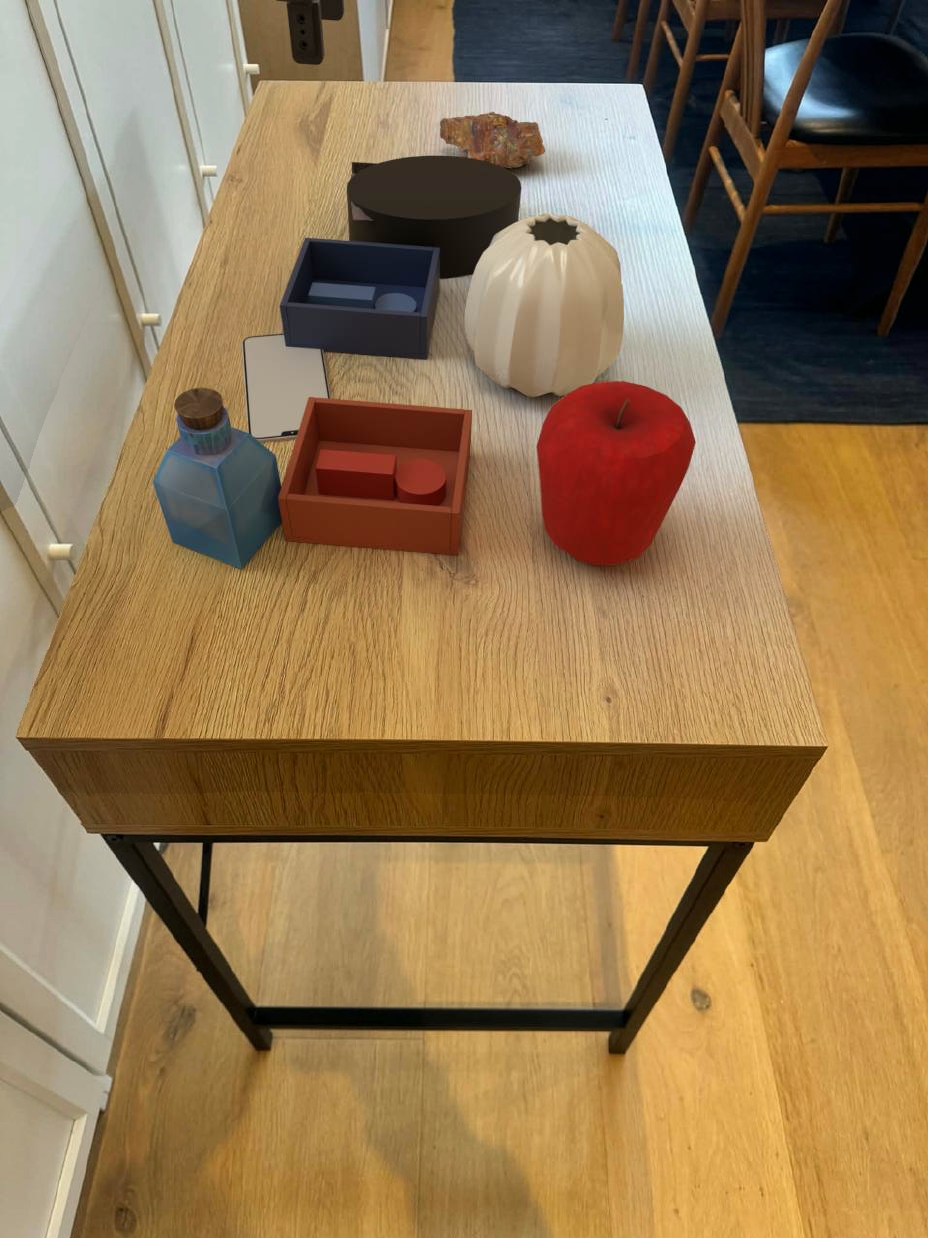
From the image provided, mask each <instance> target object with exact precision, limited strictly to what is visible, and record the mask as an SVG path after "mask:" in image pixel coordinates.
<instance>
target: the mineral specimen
mask: <svg viewBox="0 0 928 1238" xmlns="http://www.w3.org/2000/svg"><path fill="white" fill-rule="evenodd" d="M439 126H440V128H439V137H440V139H442V140H443V141H444V142H445V144H446V145H452V146H454V147H458V148H460V149H461V150H462V152H467V158H473V159H478V160H482V161H486V162H490V163H493V164H496V165H499V166H501V167H503V168H505V169H512V168H521V167H522V166H524V165H529V164H530V163H531V162H532V160H533V157H539V156H542V155H544V154H545V153H546V149H545V148H546V147H545V146H544V140H543V138H542V137H543V136H542V135H541V131H540V128H539V127H540V126H539V124H538V122H536V121H533V122H531V121H518V120H517V119H512V117H510V115H509V116H507V115H502V114H501V113H496V112H495V111H489V112H487V113H481V114H478V115H464V116H456V117H450V118H447V117H443V118H442V119H440V121H439Z"/></svg>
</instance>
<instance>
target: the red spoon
mask: <svg viewBox="0 0 928 1238" xmlns="http://www.w3.org/2000/svg"><path fill="white" fill-rule="evenodd" d="M315 470H316V477H317V485H318V493H319V494H325V495H338V496H350V497H362V498H374V499H386V500H394V497H395V492H396V498H397V500H398V501H399V502H400V503H406V504H418V505H430V506H438V505H440V504H441V503H442V502H443V500H444V499H445V496H446V473H445V471H444V469H443V468H442V467H441V466H440V465H439V464H437V463H436V462H433V461H430V460H425V459H415V460H411V461H408V462H406V463H404V464H402V465H401V466H400V467H399V468H398V469H397V458H396V455H385V454H373V453H360V452H348V451H336V450H323V449H321V450H320V452H319V456H318V460H317V463H316V467H315Z"/></svg>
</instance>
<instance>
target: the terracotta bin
mask: <svg viewBox="0 0 928 1238" xmlns="http://www.w3.org/2000/svg"><path fill="white" fill-rule="evenodd" d="M472 424H473V409H465V408H455V407H454V408H452V407H441V406H428V405H427V406H426V405H413V404H403V403H390V402H379V401H378V402H377V401H364V400H355V399H353V400H352V399H342V398H341V399H340V398H331V399H329V398H315V397H309V398H308V401H307V404H306V408H305V411H304V414H303V418H302V421H301V424H300V427H299V431H298V434H297V437H296V439H295V441H294V445H293V448H292V451H291V454H290V458H289V460H288V464H287V467H286V470H285V474H284V476H283V480H282V482H281V490H280V493H279V496H278V502H279V507H280V512H281V518H282V522H281V524H282V529H283V533H284V539H285V542H296V543H308V544H319V545H321V544H322V545H329V546H330V545H331V546H332V545H333V546H342V547H343V546H344V547H355V548H368V549H379V550H392V551H403V552H414V553H425V554H438V555H450V556H458V555H459V551H460V543H461V534H462V526H463V516H464V509H465V502H466V501H465V500H466V492H467V483H468V475H469V465H470V458H471V457H470V456H471V444H472ZM321 449H323V450H336V451H348V452H360V453H373V454H385V455H396V458H397V469H398V468H399V467H400V466H401V465H402V464H404V463H406V462H408V461H411V460H415V459H425V460H430V461H433V462H436V463H437V464H439V465H440V466H441V467H442V468H443V469H444V471H445V473H446V496H445V499H444V500H443V502H442V503H441V504H440V505H438V506H430V505H418V504H406V503H400V502H399V501H398V500H397V498H396V492H395V497H394V500H386V499H374V498H362V497H350V496H338V495H325V494H319V493H318V485H317V477H316V470H315V467H316V463H317V460H318V456H319V452H320V450H321Z"/></svg>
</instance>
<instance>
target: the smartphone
mask: <svg viewBox="0 0 928 1238" xmlns="http://www.w3.org/2000/svg"><path fill="white" fill-rule="evenodd" d="M241 351H242V352H241V353H242V367H243V368H242V369H243V381H244V396H245V397H244V398H245V414H246V415H245V416H246V426H247V433H249V434H251V435H252V436H253V437H254V438H255V439H257V440H258V441H259V442H260V443H261V444H264V443H273V442H283V441H291V440H296V437H297V434H298V431H299V427H300V424H301V421H302V418H303V414H304V411H305V408H306V404H307V401H308V398H309V397H315V398H329V399H332V394H331V389H330V384H329V378H328V371H327V366H326V365H327V364H326V358H325V351H323V349H311V348H298V347H286V346H285V339H284V332H283V333H272V334H262V335H261V334H260V335H252V336H251V335H250V336H248V337H244V339H243V340H242V341H241Z"/></svg>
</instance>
